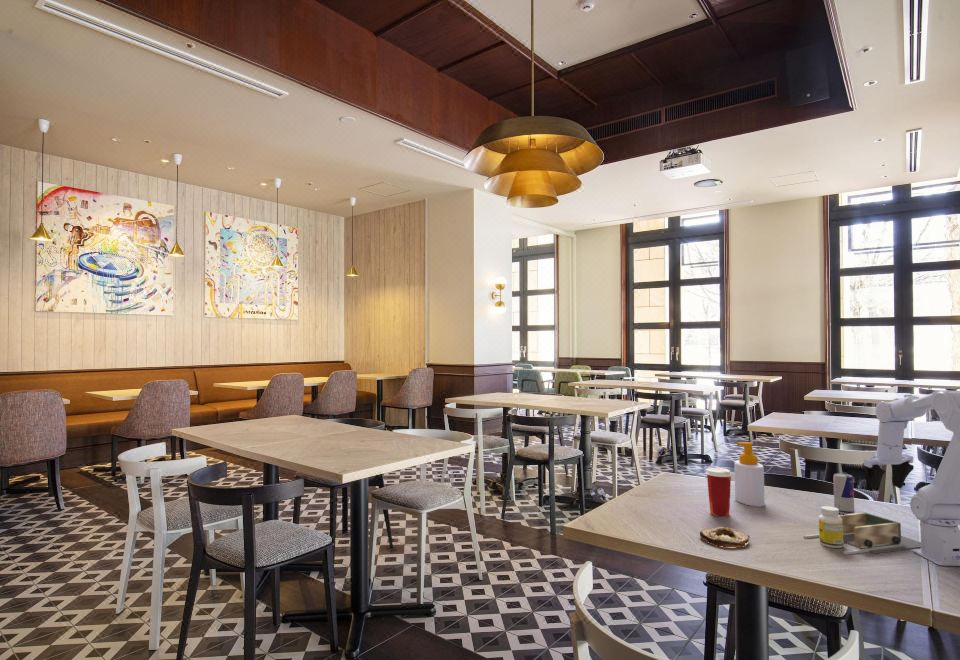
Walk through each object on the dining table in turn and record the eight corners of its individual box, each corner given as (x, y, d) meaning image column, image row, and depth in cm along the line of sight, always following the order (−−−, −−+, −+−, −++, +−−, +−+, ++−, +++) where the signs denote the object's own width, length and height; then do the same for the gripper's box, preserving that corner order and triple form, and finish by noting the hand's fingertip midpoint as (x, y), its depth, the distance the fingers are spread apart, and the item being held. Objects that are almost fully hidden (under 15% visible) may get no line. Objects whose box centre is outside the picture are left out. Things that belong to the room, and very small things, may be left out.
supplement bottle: (821, 540, 149) (819, 504, 150) (844, 544, 146) (843, 507, 146) (818, 545, 145) (816, 508, 145) (842, 550, 142) (841, 512, 142)
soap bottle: (729, 496, 194) (728, 439, 195) (752, 496, 193) (751, 439, 194) (746, 507, 181) (744, 446, 181) (771, 507, 180) (769, 446, 181)
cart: (862, 528, 156) (861, 511, 156) (905, 543, 144) (904, 524, 144) (820, 533, 152) (820, 515, 152) (861, 548, 140) (861, 529, 140)
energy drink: (857, 515, 170) (856, 477, 171) (838, 514, 172) (837, 476, 172) (849, 510, 176) (848, 473, 176) (831, 510, 177) (830, 473, 177)
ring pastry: (684, 535, 155) (684, 521, 155) (729, 531, 158) (728, 517, 159) (718, 554, 140) (718, 538, 141) (767, 549, 144) (766, 533, 144)
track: (873, 527, 159) (873, 525, 159) (930, 546, 144) (930, 544, 144) (799, 536, 152) (799, 533, 152) (851, 556, 137) (851, 554, 137)
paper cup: (738, 515, 171) (737, 471, 172) (719, 518, 168) (718, 473, 169) (719, 509, 179) (718, 466, 179) (701, 512, 176) (700, 468, 176)
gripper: (898, 436, 159) (894, 479, 161) (856, 440, 156) (852, 484, 159) (922, 444, 152) (917, 490, 154) (877, 449, 150) (873, 495, 152)
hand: (885, 488), depth 156 cm, fingers open, 7 cm apart
